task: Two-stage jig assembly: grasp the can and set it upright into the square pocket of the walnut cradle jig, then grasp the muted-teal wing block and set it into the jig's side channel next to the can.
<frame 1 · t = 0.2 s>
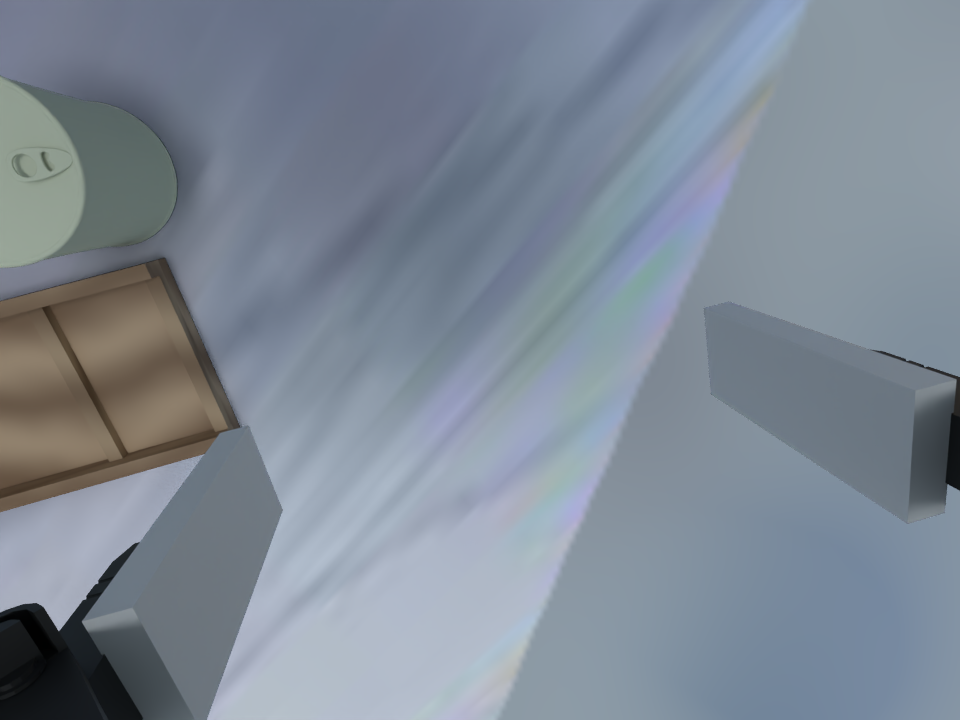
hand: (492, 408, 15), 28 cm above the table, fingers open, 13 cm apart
can: (106, 176, 36), on the table
cradle jig: (58, 388, 40), on the table
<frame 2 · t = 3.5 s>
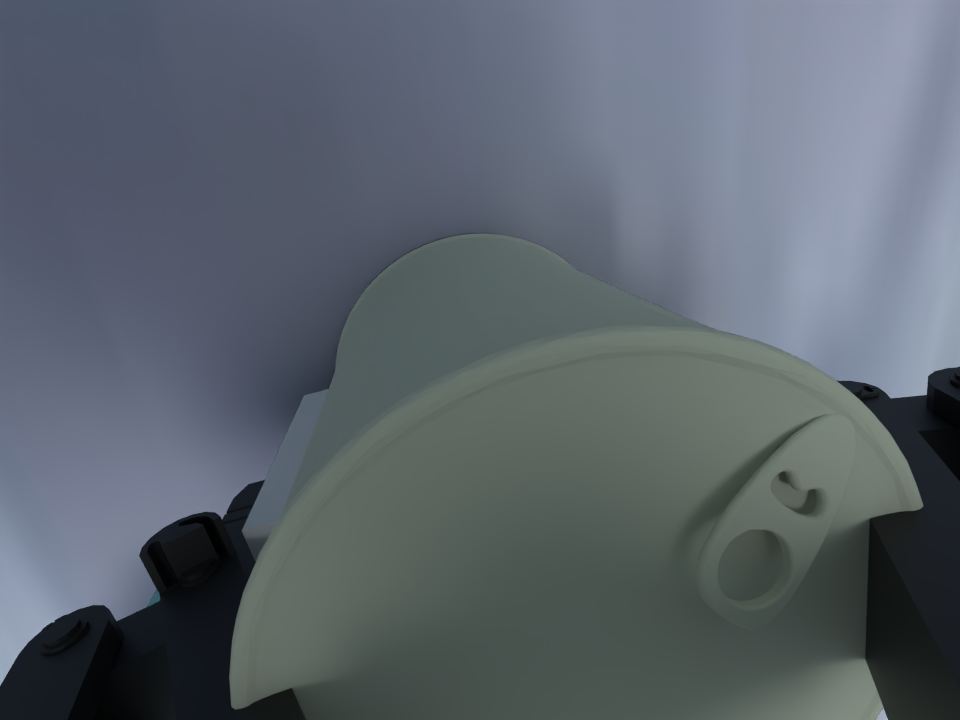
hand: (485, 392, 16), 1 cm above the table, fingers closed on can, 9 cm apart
can: (478, 373, 18), on the table, touching gripper
when the fingers open (4 cm above the table, at t = 9.0 s): can drops 2 cm, resting on cradle jig.
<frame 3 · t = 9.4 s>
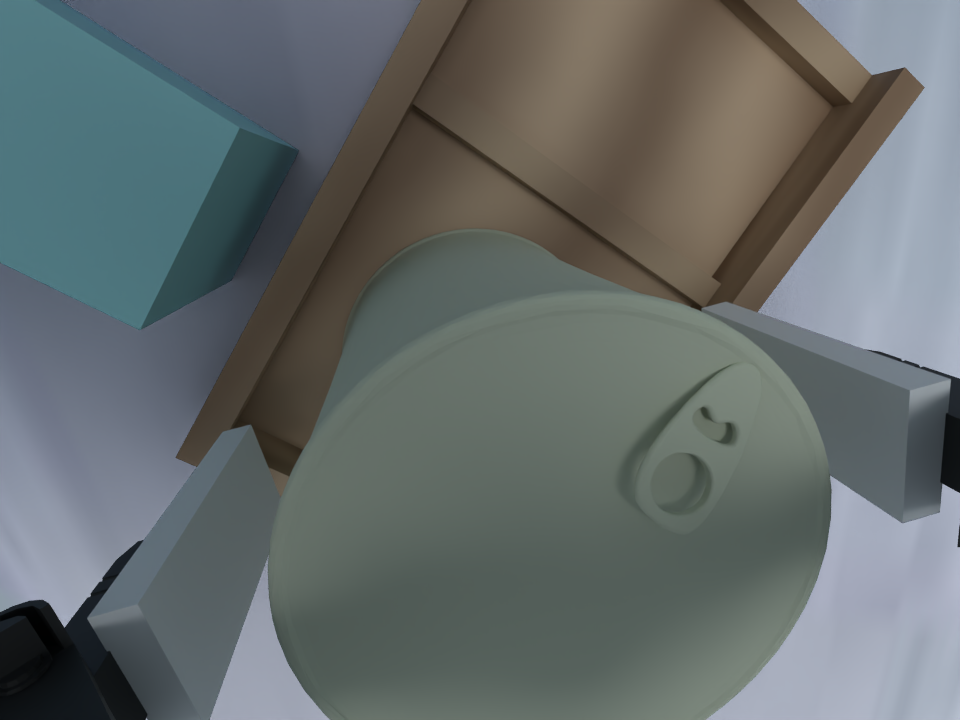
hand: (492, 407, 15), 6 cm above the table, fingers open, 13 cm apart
can: (472, 357, 19), point 1 cm above the table, touching cradle jig
cradle jig: (525, 260, 20), on the table
wing block: (113, 129, 17), on the table
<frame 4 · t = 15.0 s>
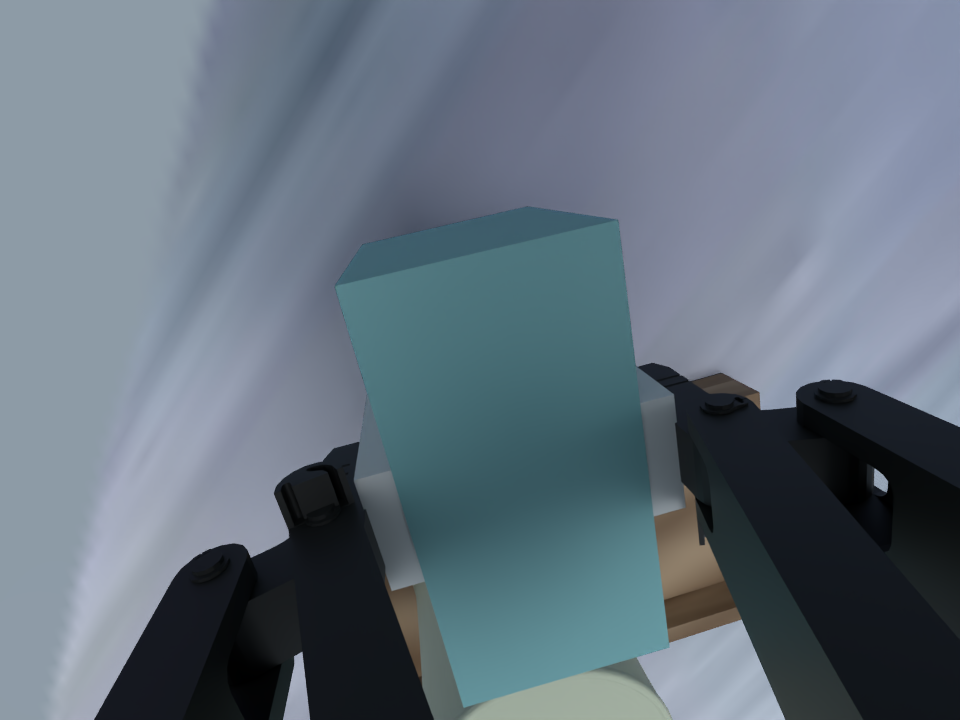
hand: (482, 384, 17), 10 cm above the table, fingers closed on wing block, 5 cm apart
can: (494, 562, 30), point 1 cm above the table, touching cradle jig
cradle jig: (556, 531, 31), on the table
wing block: (480, 379, 17), point 10 cm above the table, touching gripper
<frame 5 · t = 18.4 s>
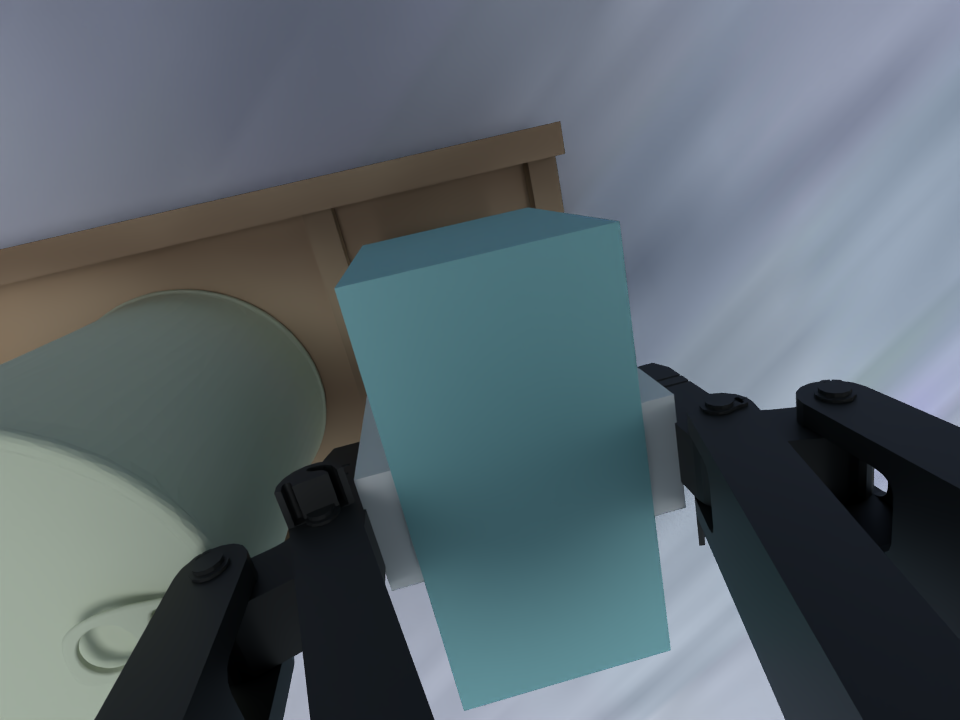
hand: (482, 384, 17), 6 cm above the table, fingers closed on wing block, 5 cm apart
can: (205, 405, 21), point 1 cm above the table, touching cradle jig, gripper
cradle jig: (309, 370, 22), on the table
wing block: (481, 380, 17), point 5 cm above the table, touching gripper
when the fingers open (2 cm above the table, at t = 19.5 s): wing block stays where it is, resting on cradle jig.
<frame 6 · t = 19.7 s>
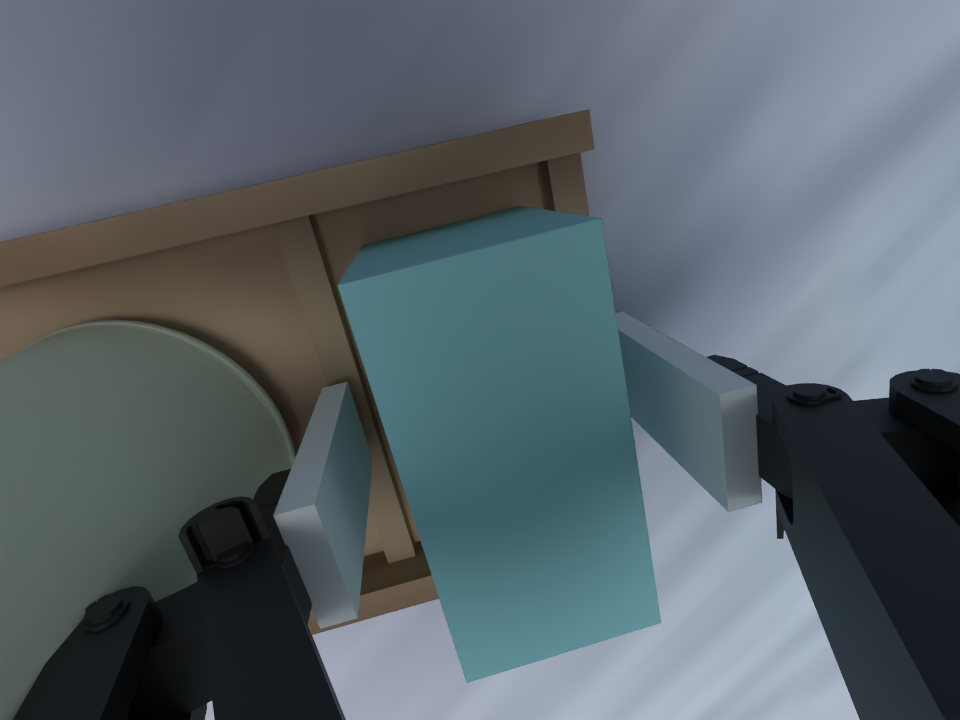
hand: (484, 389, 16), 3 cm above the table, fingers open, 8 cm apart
can: (153, 457, 17), point 2 cm above the table, touching cradle jig, gripper
cradle jig: (286, 405, 19), on the table
wing block: (478, 373, 18), point 1 cm above the table, touching cradle jig
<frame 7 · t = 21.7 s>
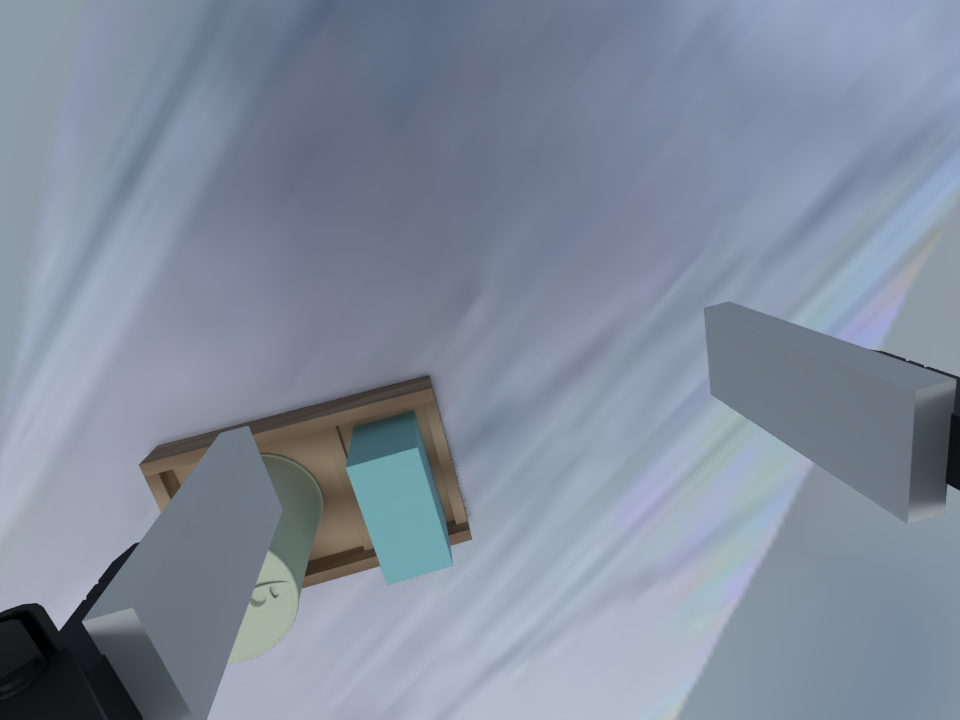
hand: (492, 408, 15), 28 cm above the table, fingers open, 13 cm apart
can: (265, 503, 43), point 1 cm above the table, touching cradle jig
cradle jig: (322, 484, 45), on the table
wing block: (400, 471, 44), point 1 cm above the table, touching cradle jig
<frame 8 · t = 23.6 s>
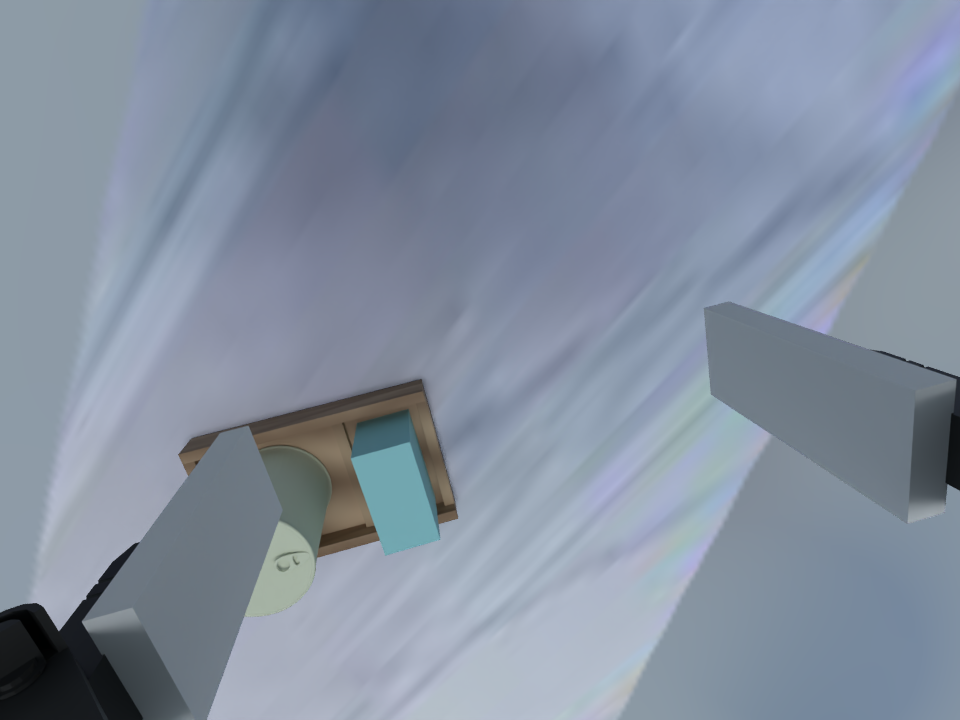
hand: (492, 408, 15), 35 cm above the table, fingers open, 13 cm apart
can: (283, 487, 51), point 1 cm above the table, touching cradle jig
cradle jig: (330, 471, 53), on the table
wing block: (397, 461, 52), point 1 cm above the table, touching cradle jig
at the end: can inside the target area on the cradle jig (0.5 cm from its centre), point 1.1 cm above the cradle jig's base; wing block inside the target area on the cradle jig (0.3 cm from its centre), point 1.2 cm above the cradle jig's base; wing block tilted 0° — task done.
